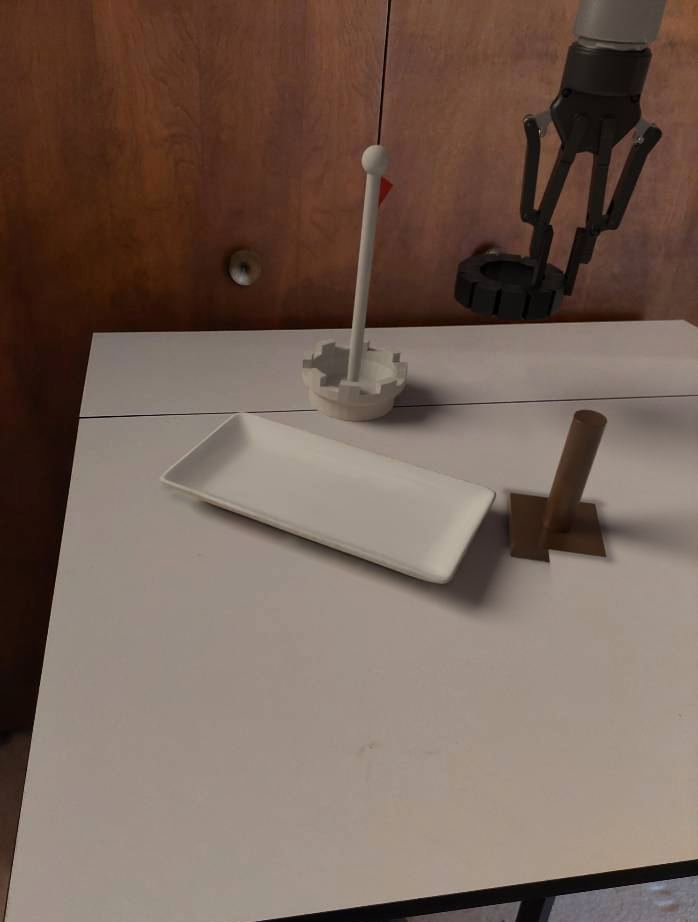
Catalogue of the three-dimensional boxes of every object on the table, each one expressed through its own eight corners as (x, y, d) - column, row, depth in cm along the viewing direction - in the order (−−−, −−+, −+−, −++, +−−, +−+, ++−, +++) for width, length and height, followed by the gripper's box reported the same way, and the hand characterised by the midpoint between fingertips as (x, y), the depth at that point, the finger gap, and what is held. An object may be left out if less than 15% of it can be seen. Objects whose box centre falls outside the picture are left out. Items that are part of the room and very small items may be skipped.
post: (591, 514, 86) (632, 399, 77) (602, 569, 79) (649, 450, 70) (506, 503, 87) (537, 388, 78) (510, 556, 80) (544, 437, 71)
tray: (238, 431, 95) (238, 406, 93) (494, 514, 85) (501, 487, 83) (156, 505, 84) (154, 478, 81) (441, 611, 73) (448, 584, 71)
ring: (555, 283, 94) (561, 258, 92) (564, 325, 85) (572, 298, 83) (454, 274, 95) (458, 249, 94) (453, 314, 86) (457, 287, 85)
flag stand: (373, 436, 96) (407, 170, 77) (281, 404, 101) (291, 146, 82) (418, 393, 105) (459, 144, 85) (332, 364, 110) (352, 123, 90)
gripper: (691, 42, 76) (618, 283, 91) (523, 31, 78) (478, 270, 93) (710, 55, 70) (629, 310, 85) (527, 43, 72) (479, 295, 87)
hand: (550, 289), depth 89 cm, fingers closed on ring, 3 cm apart
